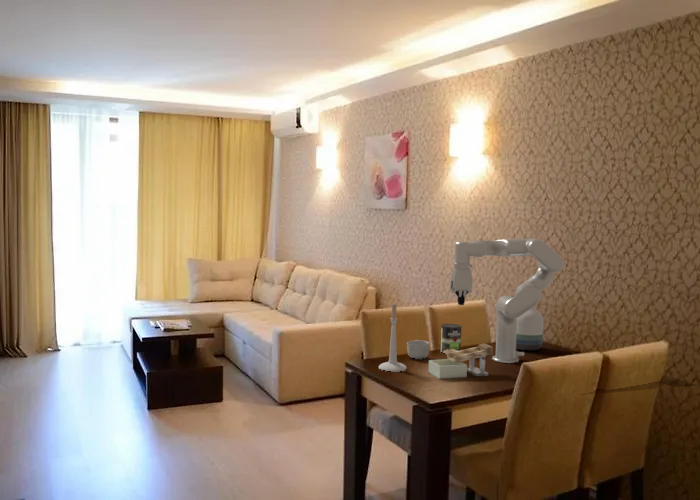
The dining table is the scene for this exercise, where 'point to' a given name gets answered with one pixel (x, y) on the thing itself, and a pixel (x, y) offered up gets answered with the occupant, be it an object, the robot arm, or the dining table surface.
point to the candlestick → (393, 348)
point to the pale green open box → (447, 369)
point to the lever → (468, 353)
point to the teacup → (418, 349)
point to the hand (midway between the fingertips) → (460, 304)
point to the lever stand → (477, 371)
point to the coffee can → (450, 337)
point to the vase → (529, 330)
